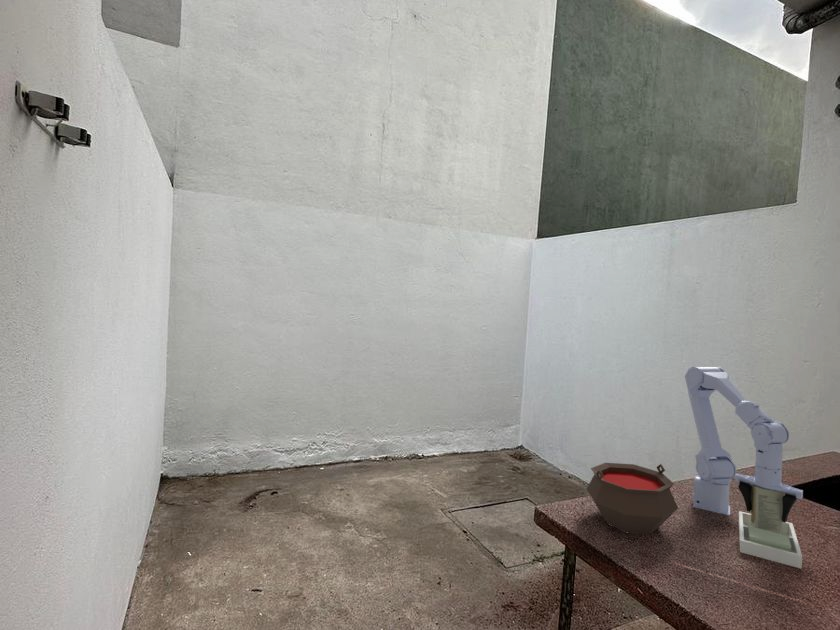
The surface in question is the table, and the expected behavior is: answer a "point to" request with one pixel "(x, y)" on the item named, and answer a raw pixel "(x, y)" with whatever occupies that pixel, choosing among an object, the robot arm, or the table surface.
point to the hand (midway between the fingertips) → (766, 515)
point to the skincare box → (766, 509)
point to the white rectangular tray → (769, 552)
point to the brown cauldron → (632, 496)
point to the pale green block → (769, 538)
